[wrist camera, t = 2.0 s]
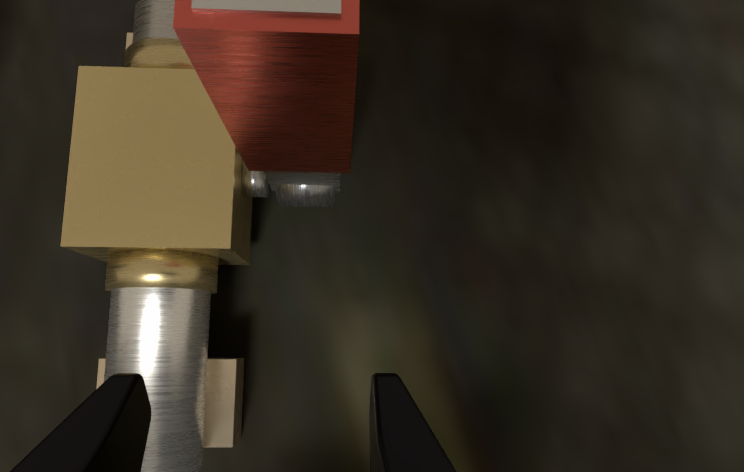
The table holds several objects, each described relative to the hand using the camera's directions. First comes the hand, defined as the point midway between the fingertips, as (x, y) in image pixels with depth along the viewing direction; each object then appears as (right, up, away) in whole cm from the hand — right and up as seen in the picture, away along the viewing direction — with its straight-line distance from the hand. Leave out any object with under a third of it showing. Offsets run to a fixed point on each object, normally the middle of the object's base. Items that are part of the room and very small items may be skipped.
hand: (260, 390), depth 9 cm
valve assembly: (-5, +2, +14) cm, 15 cm away
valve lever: (-1, +4, +13) cm, 13 cm away
